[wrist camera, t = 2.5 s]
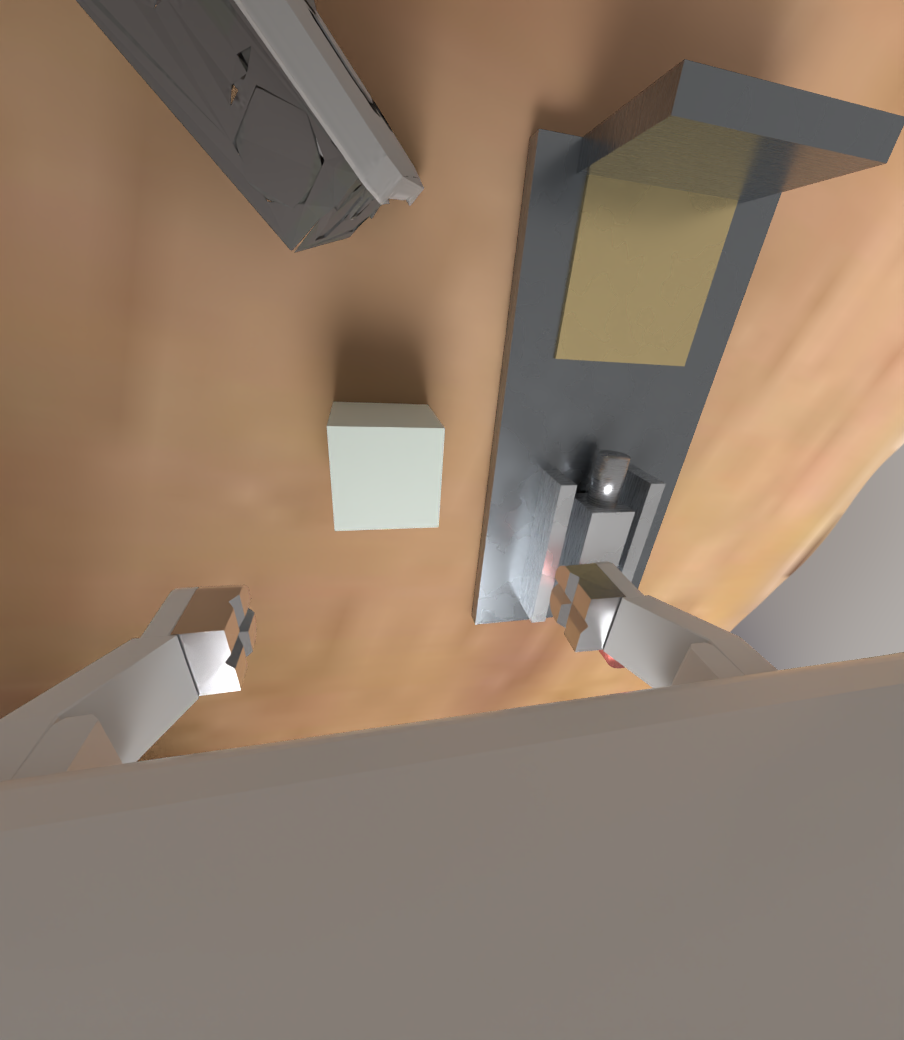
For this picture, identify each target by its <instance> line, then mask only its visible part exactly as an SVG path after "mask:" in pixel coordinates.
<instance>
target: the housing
mask: <svg viewBox="0 0 904 1040" xmlns="http://www.w3.org/2000/svg"><path fill="white" fill-rule="evenodd" d="M444 435H445V428H444V426H443V425H442V424H441V422H440V421H439V419H438V418H437V417H436V415H435V414H434V412H433V411H432V410H431V408H430V407H429V405H427V404H395V403H362V402H333V405H332V409H331V412H330V416H329V420H328V423H327V436H328V449H329V462H330V475H331V488H332V501H333V514H334V527H335V531H350V530H376V529H382V530H388V529H402V528H429V527H439V512H440V497H441V481H442V466H443V450H444Z"/></svg>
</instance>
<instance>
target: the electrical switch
mask: <svg viewBox="0 0 904 1040" xmlns="http://www.w3.org/2000/svg"><path fill="white" fill-rule="evenodd" d="M76 1H77V2H78V3H79V5H80V6H81V7H82V8H83V9H84V10H85V11H86V13H87V14H88V15H89V16H90V17H91V18H92V20H93V21H94V22H95V23H96V24H97V25H98V27H99V28H100V29H101V30H102V31H103V32H104V34H105V35H106V36H107V37H108V38H109V39H110V41H111V42H112V43H113V44H114V45H115V46H116V48H117V49H118V50H119V51H120V52H121V53H122V55H123V56H124V57H125V58H126V59H127V60H128V62H129V63H130V64H131V65H132V66H133V67H134V69H135V70H136V71H137V72H138V73H139V74H140V76H141V77H142V78H143V79H144V80H145V81H146V82H147V84H148V85H149V86H150V87H151V88H152V89H153V91H154V92H155V93H156V94H157V95H158V96H159V98H160V99H161V100H162V101H163V102H164V103H165V105H166V106H167V107H168V108H169V109H170V110H171V112H172V113H173V114H174V115H175V116H176V117H177V119H178V120H179V121H180V122H181V123H182V124H183V126H184V127H185V128H186V129H187V130H188V131H189V133H190V134H191V135H192V136H193V137H194V138H195V140H196V141H197V142H198V143H199V144H200V145H201V147H202V148H203V149H204V150H205V151H206V152H207V153H208V155H209V156H210V157H211V158H212V159H213V160H214V162H215V163H216V164H217V165H218V166H219V167H220V169H221V170H222V171H223V172H224V173H225V174H226V176H227V177H228V178H229V179H230V180H231V181H232V183H233V184H234V185H235V186H236V187H237V188H238V190H239V191H240V192H241V193H242V194H243V195H244V197H245V198H246V199H247V200H248V201H249V202H250V204H251V205H252V206H253V207H254V208H255V209H256V211H257V212H258V213H259V214H260V215H261V216H262V218H263V219H264V220H265V221H266V222H267V223H268V224H269V226H270V227H271V228H272V229H273V230H274V231H275V233H276V234H277V235H278V236H279V237H280V238H281V240H282V241H283V242H284V243H285V244H286V245H287V247H288V248H289V249H290V250H293V249H294V248H295V247H296V246H297V244H298V243H299V242H300V241H301V240H302V239H303V238H304V236H305V235H306V234H307V233H308V232H309V231H310V229H311V228H312V227H313V226H314V225H315V224H316V225H315V226H314V227H313V229H312V230H311V231H310V233H309V234H308V235H307V237H306V238H305V239H304V240H303V242H302V243H301V244H300V246H299V247H298V248H297V250H296V251H295V252H298V251H302V250H305V249H309V248H313V247H316V246H320V245H323V244H327V243H330V242H334V241H337V240H341V239H345V238H348V237H350V236H351V235H352V234H353V233H354V232H355V230H356V229H357V228H358V227H359V226H360V225H361V224H362V223H363V222H364V221H365V220H366V219H367V218H368V217H369V216H370V218H371V219H372V218H373V216H374V215H375V213H376V212H377V210H378V209H379V207H380V206H381V205H382V204H390V203H389V199H398V200H406V201H407V203H408V204H409V205H411V204H412V203H413V202H414V201H415V199H416V198H417V197H418V196H419V194H420V193H421V192H422V191H423V189H424V187H423V185H422V182H421V180H420V178H419V176H418V174H417V172H416V169H415V167H414V165H413V164H412V162H411V161H410V159H409V157H408V156H407V154H406V153H405V151H404V149H403V148H402V146H401V145H400V143H399V141H398V140H397V138H396V137H395V135H394V133H393V132H392V130H391V128H390V126H389V125H388V123H387V121H386V120H385V118H384V116H383V115H382V113H381V112H380V110H379V108H378V107H377V105H376V104H375V102H374V101H373V99H372V98H371V96H370V94H369V93H368V91H367V89H366V88H365V86H364V85H363V83H362V82H361V80H360V79H359V77H358V75H357V74H356V72H355V71H354V69H353V68H352V66H351V64H350V63H349V61H348V60H347V58H346V57H345V55H344V54H343V52H342V50H341V49H340V47H339V46H338V44H337V43H336V41H335V39H334V38H333V36H332V35H331V33H330V31H329V30H328V28H327V27H326V25H325V24H324V22H323V20H322V19H321V17H320V16H319V14H318V12H317V11H316V6H315V3H314V0H76ZM155 5H157V6H156V7H155ZM154 7H155V8H154ZM233 85H235V87H236V88H237V89H238V92H237V94H236V96H235V98H234V100H233V102H232V104H231V89H232V87H233ZM388 198H389V199H388ZM266 199H268V200H270V201H272V202H267V200H266ZM318 220H319V221H318ZM317 221H318V222H317ZM295 252H294V253H295Z"/></svg>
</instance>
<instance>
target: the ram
mask: <svg viewBox="0 0 904 1040" xmlns="http://www.w3.org/2000/svg"><path fill="white" fill-rule="evenodd" d="M630 459H631V457H630V456H629V455H627V454H624V453H621V452H617V451H611V450H601V451H598V454H597V458H596V462H595V466H594V470H593V474H592V477H591V481H590V485H589V489H588V493H575V497H574V501H573V506H572V510H571V514H570V518H569V522H568V527H567V531H566V535H565V539H564V544H563V548H562V552H561V556H560V560H559V565H558V567H559V566H562V565H577V564H591V563H596V562H607V561H608V562H610V563H613V564H614V565H615V566H616V567H618V564H619V561H620V558H621V554H622V551H623V548H624V545H625V542H626V539H627V536H628V533H629V530H630V527H631V523H632V520H633V517H634V514H635V511H633V510H632V509H631V508H629V507H628V506H627V505H625V504H624V503H623V502H621V501H620V500H619V496H620V493H621V489H622V486H623V483H624V479H625V476H626V472H627V469H628V466H629V462H630ZM557 584H558V582H557V581H556V579H555V581H554V586H553V588H554V587H555V586H556V585H557ZM599 652H600V653H601V654H602V656H603V657H604V659H605V660H606V662H607V663H608V664H609V665H610V666H611V667H613V668H625V667H624V666H623V665H621V664H620V663H619V662H617V661H616V660H615V659H613V658H612V657H611V656H609V655H608V654H607V653H605V652H604V650H599Z"/></svg>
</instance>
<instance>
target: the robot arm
mask: <svg viewBox="0 0 904 1040" xmlns="http://www.w3.org/2000/svg"><path fill="white" fill-rule="evenodd" d="M555 579H556V581H557V582H558V584H557V585H556V586H555V587H554V588H553V589H552V590H551V595H550V609H551V612H552V615H553V617H554V619H555V620H556V622H557V623H558V624H560V625H562V626H563V627H565V631H564V635H565V637H566V638H567V640H568V642H569V643H570V645H571V646H572V648H573V650H574V651H575V652H581V651H593V650H604V652H605V653H607V654H608V655H609V656H611V657H612V658H613V659H615V660H616V661H617V662H619V663H620V664H621V665H623V666H624V667H625V668H627V669H628V670H630V671H631V672H632V673H634V674H635V675H636V676H638V677H639V678H640V679H642V680H643V681H644V682H646V683H647V684H648V685H650V686H651V687H652V689H645V690H638V691H631V692H624V693H617V694H610V695H602V696H595V697H588V698H581V699H574V700H567V701H560V702H553V703H546V704H539V705H532V706H525V707H518V708H511V709H504V710H497V711H490V712H483V713H476V714H469V715H462V716H455V717H448V718H441V719H434V720H426V721H419V722H412V723H405V724H398V725H391V726H384V727H377V728H370V729H364V730H357V731H350V732H343V733H336V734H329V735H322V736H315V737H308V738H301V739H294V740H287V741H280V742H273V743H266V744H259V745H252V746H245V747H237V748H230V749H223V750H216V751H209V752H202V753H195V754H188V755H181V756H174V757H167V758H160V759H153V760H146V761H139V762H136V761H137V760H138V759H139V758H140V757H141V756H142V755H143V754H144V753H145V752H146V751H147V750H148V749H149V748H150V747H151V746H152V745H153V744H154V743H155V742H156V741H157V740H158V739H159V738H160V737H161V736H162V735H163V734H164V733H165V732H166V731H167V730H168V729H169V728H170V727H171V726H172V725H173V724H174V723H175V722H176V721H177V720H178V719H179V718H180V717H181V716H182V715H183V714H184V713H185V712H186V711H187V710H188V709H189V708H190V707H191V706H192V705H193V704H194V703H195V702H196V701H197V700H198V699H199V697H198V696H202V695H210V694H217V693H224V692H231V691H238V690H241V687H242V684H243V681H244V678H245V675H246V672H247V669H248V664H247V659H246V657H247V656H248V655H249V654H250V653H252V652H253V649H254V646H255V642H256V633H257V625H256V617H255V613H254V612H253V611H252V610H251V609H249V608H248V607H249V604H250V601H251V594H250V591H249V587H248V586H246V585H229V586H205V587H187V588H176V589H174V590H172V591H171V592H170V594H169V595H168V597H167V598H166V600H165V601H164V603H163V604H162V606H161V607H160V609H159V610H158V612H157V613H156V615H155V616H154V618H153V619H152V621H151V622H150V624H149V625H148V627H147V628H146V630H145V631H144V633H143V634H142V636H141V637H140V638H136V639H131V640H129V641H128V642H126V643H124V644H123V645H121V646H119V647H118V648H116V649H114V650H113V651H111V652H110V653H108V654H106V655H105V656H103V657H101V658H100V659H98V660H96V661H95V662H93V663H92V664H90V665H88V666H87V667H85V668H83V669H82V670H80V671H78V672H77V673H75V674H73V675H72V676H70V677H69V678H67V679H65V680H64V681H62V682H60V683H59V684H57V685H55V686H54V687H52V688H50V689H49V690H47V691H46V692H44V693H42V694H41V695H39V696H37V697H36V698H34V699H32V700H31V701H29V702H28V703H26V704H24V705H23V706H21V707H19V708H18V709H16V710H14V711H13V712H11V713H9V714H8V715H6V716H5V717H3V718H1V719H0V1040H904V652H901V653H895V654H889V655H883V656H877V657H869V658H862V659H856V660H849V661H842V662H834V663H827V664H821V665H813V666H806V667H799V668H793V669H785V670H777V669H776V668H775V667H773V666H772V665H771V664H770V663H769V662H768V661H767V660H766V659H765V658H763V657H762V656H761V655H760V654H759V653H758V652H757V651H755V650H754V649H753V648H752V647H751V646H750V645H749V644H747V643H746V642H745V641H744V640H743V639H742V638H741V637H739V636H737V635H734V634H732V633H730V632H728V631H726V630H724V629H721V628H719V627H717V626H715V625H713V624H710V623H708V622H706V621H704V620H702V619H700V618H697V617H695V616H693V615H691V614H689V613H686V612H684V611H682V610H680V609H678V608H676V607H673V606H671V605H669V604H667V603H665V602H662V601H660V600H658V599H656V598H654V597H652V596H649V595H648V596H644V595H643V594H642V593H641V592H640V591H639V590H638V589H637V588H636V587H635V586H634V585H633V584H632V583H631V582H630V581H629V580H628V579H627V578H626V577H625V576H624V575H623V573H622V572H621V571H620V570H619V569H618V568H617V567H616V566H615V565H614V564H613V563H610V562H608V561H607V562H596V563H591V564H577V565H562V566H559V567H558V569H557V570H556V574H555Z"/></svg>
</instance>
